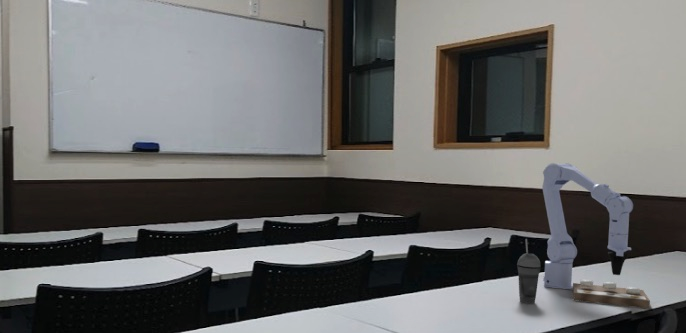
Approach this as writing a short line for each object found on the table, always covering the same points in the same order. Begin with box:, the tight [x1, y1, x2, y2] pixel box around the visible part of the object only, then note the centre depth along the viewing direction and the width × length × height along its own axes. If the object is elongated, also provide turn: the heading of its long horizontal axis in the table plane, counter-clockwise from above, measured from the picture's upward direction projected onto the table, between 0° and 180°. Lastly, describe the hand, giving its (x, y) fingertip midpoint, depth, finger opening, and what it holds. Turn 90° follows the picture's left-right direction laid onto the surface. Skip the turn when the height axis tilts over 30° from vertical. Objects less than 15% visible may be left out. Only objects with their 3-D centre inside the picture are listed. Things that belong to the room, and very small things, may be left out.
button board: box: [572, 282, 651, 310], centre depth 197 cm, size 22×16×3 cm
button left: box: [579, 278, 594, 287], centre depth 200 cm, size 4×4×2 cm
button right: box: [625, 286, 641, 294], centre depth 195 cm, size 4×4×2 cm
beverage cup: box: [516, 238, 542, 305], centre depth 189 cm, size 7×7×20 cm
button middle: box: [602, 281, 617, 289], centre depth 197 cm, size 4×4×2 cm
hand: (616, 274), depth 197 cm, fingers closed
